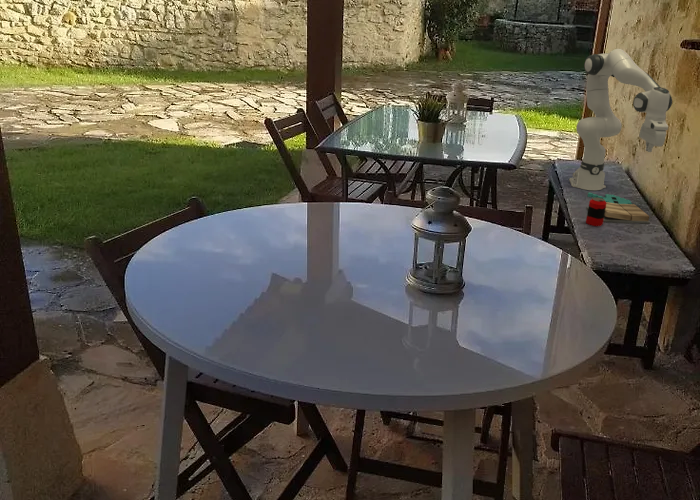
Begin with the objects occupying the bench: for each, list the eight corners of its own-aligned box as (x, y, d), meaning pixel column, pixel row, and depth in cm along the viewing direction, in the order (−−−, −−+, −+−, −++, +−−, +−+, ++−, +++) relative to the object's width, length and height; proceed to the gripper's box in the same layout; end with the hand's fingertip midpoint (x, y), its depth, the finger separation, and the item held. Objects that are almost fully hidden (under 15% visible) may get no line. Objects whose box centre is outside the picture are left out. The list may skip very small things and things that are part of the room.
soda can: (591, 226, 316) (596, 202, 311) (582, 221, 322) (586, 197, 318) (605, 226, 318) (610, 201, 313) (596, 220, 324) (600, 196, 320)
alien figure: (592, 207, 344) (633, 211, 340) (592, 203, 343) (634, 207, 340) (587, 196, 362) (626, 200, 359) (588, 192, 361) (627, 196, 358)
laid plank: (617, 208, 339) (618, 203, 339) (633, 209, 340) (634, 204, 339) (631, 220, 323) (632, 215, 322) (648, 221, 323) (649, 216, 322)
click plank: (593, 204, 339) (594, 200, 338) (617, 208, 339) (618, 203, 339) (605, 216, 322) (607, 212, 321) (630, 220, 323) (632, 215, 322)
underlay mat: (586, 208, 341) (586, 206, 340) (633, 210, 341) (633, 208, 341) (599, 222, 322) (600, 220, 322) (649, 223, 322) (650, 222, 322)
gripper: (639, 118, 331) (633, 146, 336) (656, 127, 312) (650, 156, 317) (651, 118, 331) (646, 146, 336) (670, 127, 312) (663, 156, 317)
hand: (648, 151), depth 326 cm, fingers closed
